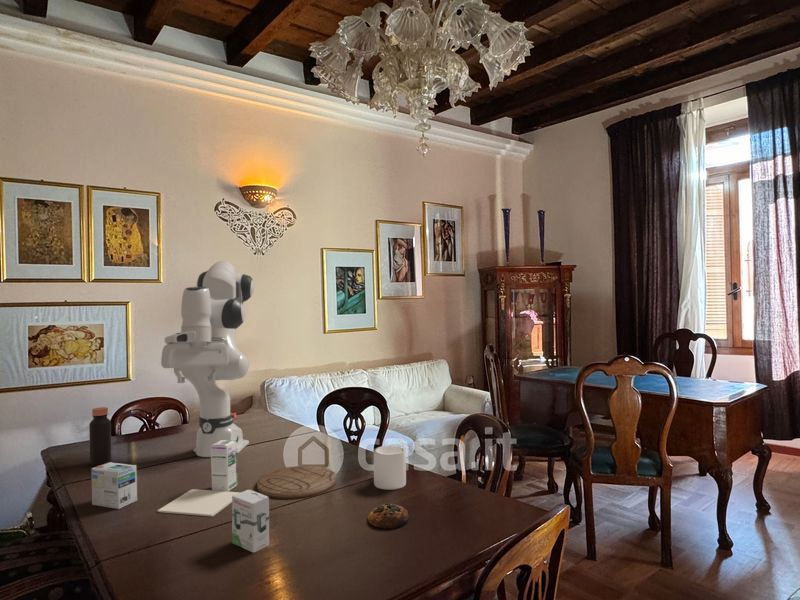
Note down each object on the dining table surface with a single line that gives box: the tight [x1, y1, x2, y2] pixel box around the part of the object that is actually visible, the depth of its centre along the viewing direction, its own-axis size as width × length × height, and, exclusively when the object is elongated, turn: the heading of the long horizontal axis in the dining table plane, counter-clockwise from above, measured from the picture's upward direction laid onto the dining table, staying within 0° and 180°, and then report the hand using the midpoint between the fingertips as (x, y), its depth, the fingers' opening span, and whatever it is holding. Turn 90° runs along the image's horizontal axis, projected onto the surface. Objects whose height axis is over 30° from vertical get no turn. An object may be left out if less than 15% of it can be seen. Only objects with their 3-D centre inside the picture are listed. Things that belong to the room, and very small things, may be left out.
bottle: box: [88, 406, 112, 467], centre depth 185 cm, size 7×7×20 cm
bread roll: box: [367, 503, 409, 529], centre depth 135 cm, size 11×11×5 cm
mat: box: [157, 488, 241, 517], centre depth 147 cm, size 16×17×1 cm
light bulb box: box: [91, 461, 138, 510], centre depth 148 cm, size 11×7×11 cm, turn 71°
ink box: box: [231, 489, 270, 553], centre depth 122 cm, size 9×5×12 cm, turn 54°
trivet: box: [256, 465, 338, 500], centre depth 162 cm, size 25×25×2 cm
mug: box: [373, 445, 407, 490], centre depth 163 cm, size 14×10×11 cm
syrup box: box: [210, 440, 239, 492], centre depth 159 cm, size 6×6×14 cm
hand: (196, 382), depth 156 cm, fingers open, 8 cm apart
